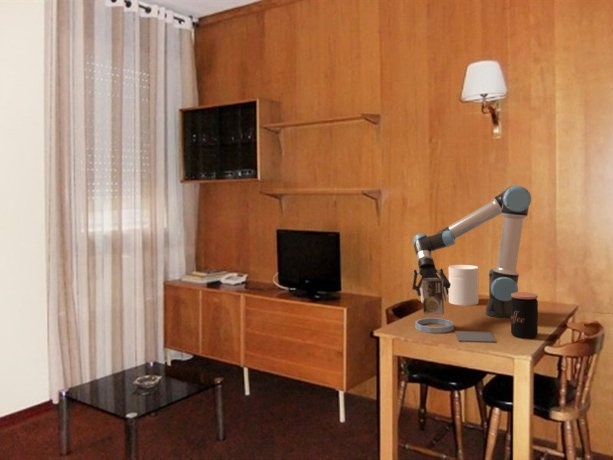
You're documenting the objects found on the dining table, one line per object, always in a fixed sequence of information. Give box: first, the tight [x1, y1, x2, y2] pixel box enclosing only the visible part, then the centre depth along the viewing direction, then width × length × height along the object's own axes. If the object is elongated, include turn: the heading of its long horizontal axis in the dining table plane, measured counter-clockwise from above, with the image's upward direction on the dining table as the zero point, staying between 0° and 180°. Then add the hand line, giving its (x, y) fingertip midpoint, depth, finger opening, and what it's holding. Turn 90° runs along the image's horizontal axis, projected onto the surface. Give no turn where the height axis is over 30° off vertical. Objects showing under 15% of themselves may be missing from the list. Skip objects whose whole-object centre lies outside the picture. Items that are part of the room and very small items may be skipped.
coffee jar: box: [510, 291, 539, 340], centre depth 220 cm, size 11×11×18 cm
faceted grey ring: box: [414, 317, 455, 334], centre depth 237 cm, size 17×17×2 cm
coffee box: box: [421, 277, 445, 316], centre depth 236 cm, size 9×6×16 cm
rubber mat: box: [454, 330, 497, 343], centre depth 220 cm, size 15×14×1 cm
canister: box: [448, 264, 479, 306], centre depth 287 cm, size 16×16×20 cm
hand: (434, 300), depth 233 cm, fingers closed on coffee box, 10 cm apart
